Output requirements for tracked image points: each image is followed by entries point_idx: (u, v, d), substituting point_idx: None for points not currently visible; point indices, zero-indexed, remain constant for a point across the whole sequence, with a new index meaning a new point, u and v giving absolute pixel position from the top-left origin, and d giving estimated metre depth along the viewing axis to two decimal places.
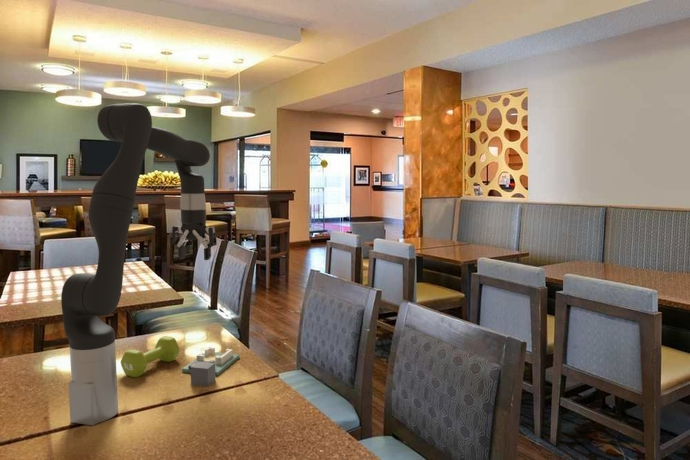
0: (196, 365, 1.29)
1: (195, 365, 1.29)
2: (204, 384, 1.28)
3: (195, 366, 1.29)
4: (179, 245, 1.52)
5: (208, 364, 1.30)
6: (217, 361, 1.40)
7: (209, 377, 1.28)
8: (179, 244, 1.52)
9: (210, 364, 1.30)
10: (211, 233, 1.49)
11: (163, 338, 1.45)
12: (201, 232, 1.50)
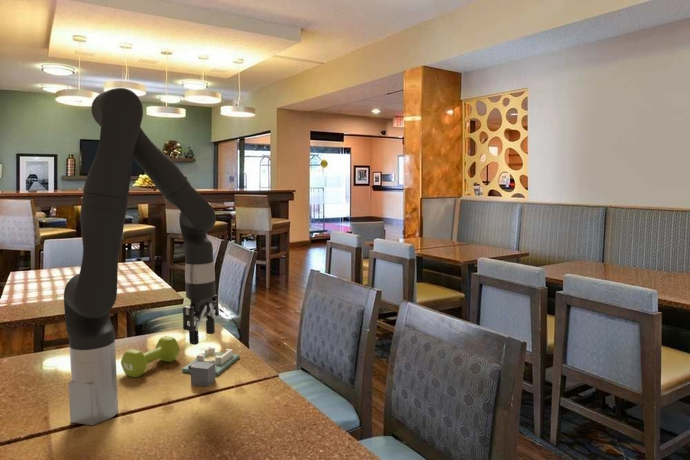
0: (196, 365, 1.29)
1: (195, 365, 1.29)
2: (204, 384, 1.28)
3: (195, 366, 1.29)
4: (197, 328, 1.24)
5: (208, 364, 1.30)
6: (217, 361, 1.40)
7: (209, 377, 1.28)
8: (197, 327, 1.24)
9: (210, 364, 1.30)
10: (217, 301, 1.34)
11: (163, 338, 1.45)
12: (211, 303, 1.31)
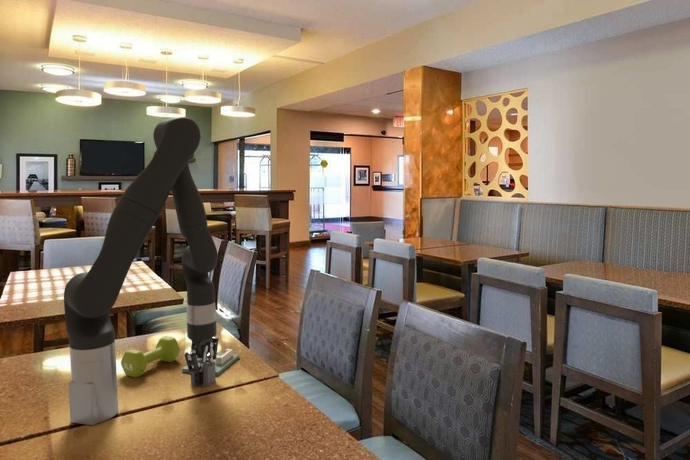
0: None
1: None
2: (204, 384, 1.28)
3: None
4: (202, 369, 1.27)
5: (208, 364, 1.30)
6: (217, 361, 1.40)
7: (209, 376, 1.28)
8: (202, 368, 1.27)
9: (210, 364, 1.30)
10: (217, 344, 1.35)
11: (164, 338, 1.45)
12: None
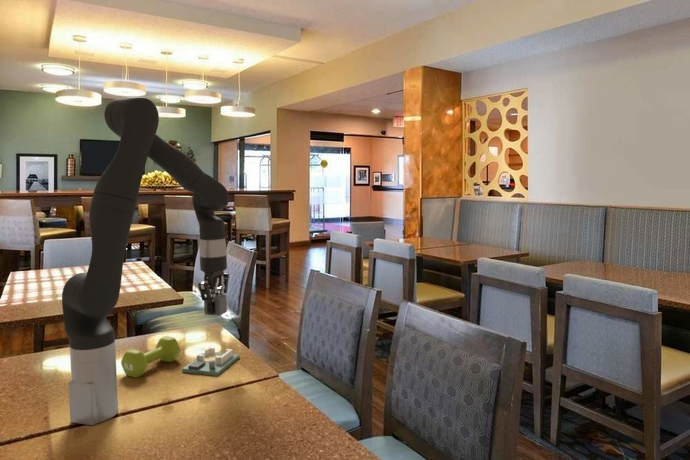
0: None
1: None
2: (216, 313, 1.39)
3: None
4: (214, 299, 1.39)
5: (220, 296, 1.41)
6: (217, 361, 1.40)
7: (221, 306, 1.40)
8: (214, 298, 1.39)
9: (221, 296, 1.42)
10: (227, 279, 1.46)
11: (164, 338, 1.45)
12: None
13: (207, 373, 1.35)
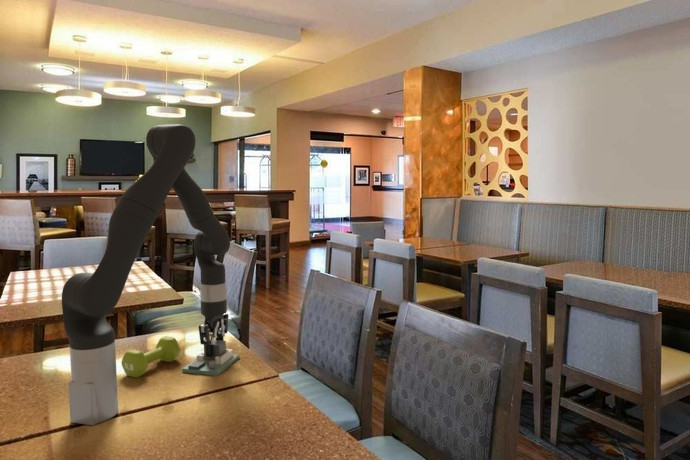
0: None
1: None
2: None
3: None
4: (212, 342, 1.40)
5: (220, 342, 1.44)
6: (217, 361, 1.40)
7: (220, 353, 1.43)
8: (212, 341, 1.40)
9: (221, 342, 1.44)
10: (227, 319, 1.49)
11: (164, 338, 1.45)
12: None
13: (207, 373, 1.35)
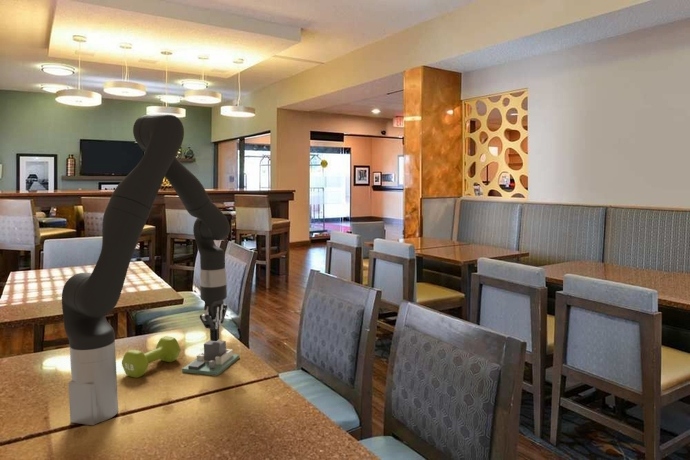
0: (209, 342, 1.44)
1: (208, 342, 1.44)
2: None
3: (208, 343, 1.43)
4: (217, 326, 1.43)
5: (220, 342, 1.44)
6: (217, 361, 1.40)
7: (220, 353, 1.43)
8: (217, 325, 1.43)
9: (221, 342, 1.44)
10: (225, 311, 1.48)
11: (164, 338, 1.45)
12: None
13: (207, 373, 1.35)
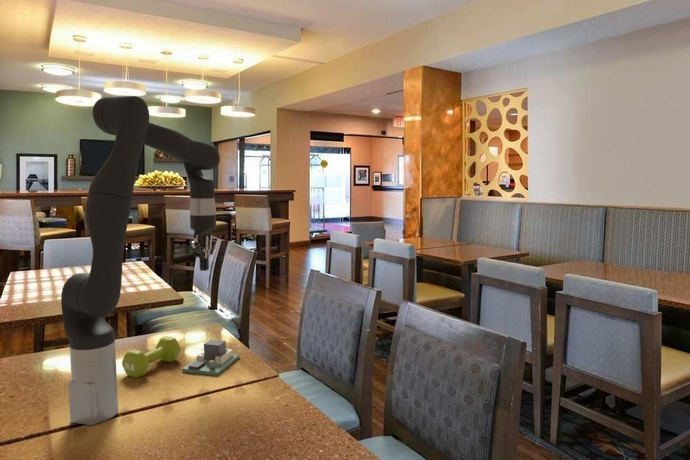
0: (209, 342, 1.44)
1: (208, 342, 1.44)
2: None
3: (208, 343, 1.43)
4: (206, 256, 1.45)
5: (220, 342, 1.44)
6: (217, 361, 1.40)
7: (220, 353, 1.43)
8: (206, 255, 1.45)
9: (221, 342, 1.44)
10: (215, 243, 1.51)
11: (164, 338, 1.45)
12: None
13: (207, 373, 1.35)
